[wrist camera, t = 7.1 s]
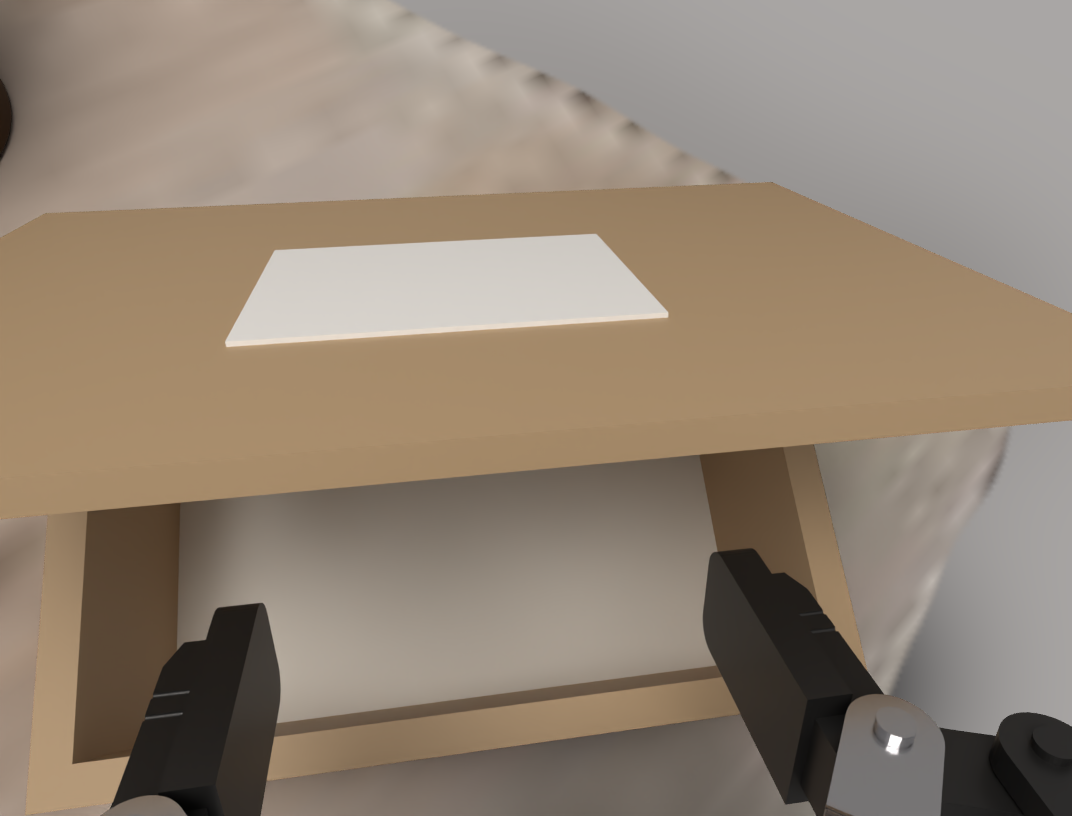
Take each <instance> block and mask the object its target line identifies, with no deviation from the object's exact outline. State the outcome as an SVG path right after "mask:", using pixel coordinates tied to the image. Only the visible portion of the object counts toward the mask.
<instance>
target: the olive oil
mask: <svg viewBox="0 0 1072 816" xmlns="http://www.w3.org/2000/svg"><path fill="white" fill-rule="evenodd" d="M10 127H11V106H10V101H9V97H8V94H7V92H6V89H5V87H4V85H3V83H2V81H1V79H0V155H1V153H2V151H3V149H4V147H5V145H6V142H7V139H8V136H9V132H10Z"/></svg>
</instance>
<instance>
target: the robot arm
mask: <svg viewBox="0 0 1072 816" xmlns="http://www.w3.org/2000/svg"><path fill="white" fill-rule="evenodd" d="M703 630H704V636H705V640H706V643H707V646H708V649H709V651H710V653H711V655H712V657H713V659H714V661H715V663H716V665H717V667H718V669H719V671H720V673H721V675H722V677H723V679H724V681H725V683H726V685H727V687H728V690H729V692H730V694H731V696H732V698H733V700H734V702H735V704H736V706H737V708H738V710H739V712H740V714H741V716H742V718H743V720H744V722H745V724H746V726H747V728H748V730H749V732H750V734H751V736H752V738H753V740H754V742H755V744H756V746H757V748H758V750H759V752H760V754H761V756H762V758H763V760H764V762H765V764H766V766H767V768H768V770H769V772H770V774H771V776H772V778H773V780H774V782H775V784H776V786H777V789H778V791H779V793H780V795H781V797H782V799H783V801H784V803H785V805H786V804H792V803H799V802H805V801H809V802H810V804H811V806H812V808H813V810H814V812H815V814H816V815H817V816H1072V727H1071V726H1069V725H1068V724H1066V723H1064V722H1062V721H1060V720H1057V719H1055V718H1052V717H1049V716H1046V715H1041V714H1037V713H1029V712H1027V713H1016V714H1013V715H1010V716H1008V717H1006V718H1005V719H1004V720H1003V721H1002V722H1001V724H1000V726H999V729H998V732H997V734H996V736H993V735H985V734H978V733H971V732H964V731H956V730H950V729H944V728H939V727H938V726H937V724H936V723H935V722H934V721H933V720H932V719H931V717H930V716H929V715H927V714H926V713H925V712H924V711H922V710H921V709H920V708H918V707H917V706H915V705H913V704H911V703H909V702H908V701H905V700H903V699H900V698H897V697H894V696H890V695H884V693H883V692H882V691H881V689H880V688H879V687H878V685H877V684H876V683H875V681H874V680H873V678H872V677H871V676H870V674H869V673H868V672H867V670H866V669H865V667H864V666H863V665H862V663H861V662H860V660H859V659H858V658H857V656H856V655H855V654H854V652H853V651H852V649H851V648H850V647H849V645H848V644H847V642H846V641H845V640H844V638H843V637H842V636H841V634H840V633H839V631H836V630H835V626H834V624H833V623H832V622H831V620H830V619H829V618H828V616H827V615H826V614H824V613H823V609H822V608H821V607H820V605H819V604H818V602H817V601H816V600H815V598H814V597H813V595H812V594H811V593H810V591H809V590H808V589H807V588H806V587H804V586H803V585H801V584H800V583H799V582H797V581H796V580H794V579H793V578H792V577H790V576H789V575H787V574H786V573H785V572H783V573H774V574H772V573H771V572H770V570H769V569H768V567H767V566H766V564H765V563H764V561H763V560H762V558H761V557H760V555H759V554H758V553H757V551H756V550H754V549H753V548H747V549H737V550H728V551H719V552H713V553H712V554H711V556H710V559H709V565H708V574H707V582H706V591H705V600H704V608H703ZM280 695H281V683H280V671H279V665H278V661H277V656H276V651H275V647H274V642H273V637H272V633H271V628H270V623H269V619H268V614H267V610H266V607H265V605H264V604H263V603H254V604H245V605H236V606H227V607H219V608H217V609H216V610H215V612H214V615H213V618H212V621H211V624H210V627H209V631H208V634H207V637H206V640H200V641H192V642H184V643H183V644H182V646H181V647H180V648H179V649H178V650H177V651H176V652H175V653H174V655H173V656H172V657H171V658H170V659H169V660H168V661H167V663H166V664H165V665H164V666H163V667H162V670H161V673H160V675H159V678H158V681H157V684H156V686H155V689H154V692H153V699H151V700H150V703H149V705H148V708H147V711H146V714H145V721H143V722H142V724H141V727H140V730H139V733H138V735H137V738H136V741H135V744H134V746H133V749H132V752H131V754H130V757H129V760H128V763H127V765H126V768H125V771H124V773H123V776H122V779H121V782H120V784H119V787H118V790H117V793H116V795H115V798H114V801H113V803H112V805H111V808H110V809H109V810H108V811H106V812H105V813H104V814H102V815H101V816H260V815H261V809H262V804H263V798H264V792H265V786H266V781H267V775H268V769H269V764H270V758H271V752H272V746H273V741H274V735H275V729H276V724H277V718H278V712H279V706H280Z"/></svg>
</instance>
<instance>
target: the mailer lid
mask: <svg viewBox="0 0 1072 816" xmlns="http://www.w3.org/2000/svg"><path fill="white" fill-rule="evenodd" d="M1069 420H1072V313H1070V312H1067V311H1065V310H1063V309H1060V308H1058V307H1056V306H1054V305H1052V304H1049V303H1047V302H1045V301H1042V300H1040V299H1038V298H1035V297H1033V296H1031V295H1029V294H1026V293H1024V292H1022V291H1020V290H1017V289H1015V288H1013V287H1010V286H1008V285H1006V284H1004V283H1001V282H999V281H996V280H994V279H992V278H990V277H988V276H985V275H983V274H981V273H978V272H976V271H974V270H972V269H969V268H967V267H965V266H962V265H960V264H958V263H956V262H953V261H951V260H949V259H946V258H944V257H942V256H940V255H937V254H935V253H933V252H930V251H928V250H926V249H924V248H921V247H919V246H917V245H914V244H912V243H910V242H907V241H905V240H903V239H900V238H898V237H896V236H894V235H892V234H889V233H887V232H885V231H882V230H880V229H878V228H876V227H873V226H871V225H869V224H866V223H864V222H862V221H860V220H857V219H855V218H853V217H850V216H848V215H846V214H844V213H841V212H839V211H837V210H834V209H832V208H830V207H828V206H825V205H823V204H820V203H818V202H816V201H814V200H812V199H809V198H807V197H805V196H802V195H800V194H798V193H796V192H793V191H791V190H789V189H786V188H784V187H781V186H779V185H777V184H775V183H773V182H765V183H742V184H718V185H695V186H672V187H648V188H625V189H602V190H579V191H555V192H532V193H509V194H486V195H462V196H439V197H416V198H393V199H369V200H346V201H323V202H299V203H276V204H253V205H230V206H206V207H183V208H160V209H137V210H113V211H90V212H67V213H45V214H43V215H42V216H40V217H38V218H36V219H34V220H32V221H31V222H29V223H27V224H25V225H23V226H21V227H20V228H18V229H16V230H14V231H12V232H10V233H9V234H7V235H5V236H3V237H1V238H0V519H8V518H19V517H30V516H41V515H52V514H62V513H73V512H84V511H95V510H106V509H117V508H127V507H138V506H149V505H160V504H171V503H182V502H192V501H203V500H214V499H225V498H236V497H246V496H257V495H268V494H279V493H290V492H301V491H311V490H322V489H333V488H344V487H355V486H366V485H376V484H387V483H398V482H409V481H420V480H430V479H441V478H452V477H463V476H474V475H485V474H495V473H506V472H517V471H528V470H539V469H550V468H560V467H571V466H582V465H593V464H604V463H614V462H625V461H636V460H647V459H658V458H669V457H679V456H690V455H701V454H712V453H723V452H734V451H744V450H755V449H766V448H777V447H788V446H798V445H809V444H820V443H831V442H842V441H853V440H863V439H874V438H885V437H896V436H907V435H918V434H928V433H939V432H950V431H961V430H972V429H982V428H993V427H1004V426H1015V425H1026V424H1037V423H1047V422H1058V421H1069Z"/></svg>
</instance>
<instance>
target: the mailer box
mask: <svg viewBox="0 0 1072 816" xmlns="http://www.w3.org/2000/svg"><path fill="white" fill-rule="evenodd" d="M747 548H753V549H754V550H756V551H757V553H758V554H759V555H760V557H761V558H762V560H763V561H764V563H765V564H766V566H767V567H768V569H769V570H770V572H771V573H772V574H774V573H783V572H785V573H786V574H787V575H789V576H790V577H792V578H793V579H794V580H796V581H797V582H799V583H800V584H801V585H803V586H804V587H806V588H807V589H808V590H809V591H810V593H811V594H812V595H813V597H814V598H815V600H816V601H817V602H818V604H819V605H820V607H821V608H822V609H823V613H824V614H826V615H827V616H828V618H829V619H830V620H831V622H832V623H833V624H834V626H835V630H836V631H839V633H840V634H841V636H842V637H843V638H844V640H845V641H846V642H847V644H848V645H849V647H850V648H851V649H852V651H853V652H854V654H855V655H856V656H857V658H858V659H859V660H860V662H861V663H862V665H863V666H864V667H865V669H866V670H867V667H866V663H865V659H864V655H863V651H862V646H861V642H860V638H859V634H858V629H857V625H856V621H855V617H854V613H853V608H852V604H851V600H850V596H849V591H848V587H847V583H846V579H845V575H844V570H843V566H842V562H841V558H840V553H839V549H838V545H837V541H836V537H835V532H834V528H833V524H832V520H831V516H830V511H829V507H828V503H827V499H826V494H825V490H824V486H823V482H822V478H821V473H820V469H819V465H818V461H817V456H816V452H815V448H814V444H809V445H798V446H788V447H777V448H766V449H755V450H744V451H734V452H723V453H712V454H701V455H690V456H679V457H669V458H658V459H647V460H636V461H625V462H614V463H604V464H593V465H582V466H571V467H560V468H550V469H539V470H528V471H517V472H506V473H495V474H485V475H474V476H463V477H452V478H441V479H430V480H420V481H409V482H398V483H387V484H376V485H366V486H355V487H344V488H333V489H322V490H311V491H301V492H290V493H279V494H268V495H257V496H246V497H236V498H225V499H214V500H203V501H192V502H182V503H171V504H160V505H149V506H138V507H127V508H117V509H106V510H95V511H84V512H73V513H62V514H52V515H48V518H47V531H46V545H45V558H44V571H43V585H42V598H41V611H40V625H39V638H38V651H37V664H36V678H35V691H34V704H33V718H32V731H31V744H30V757H29V771H28V784H27V797H26V811H25V815H30V814H37V813H44V812H51V811H58V810H65V809H72V808H79V807H86V806H94V805H101V804H108V803H113V801H114V798H115V795H116V793H117V790H118V787H119V784H120V782H121V779H122V776H123V773H124V771H125V768H126V765H127V763H128V760H129V757H130V754H131V752H132V749H133V746H134V744H135V741H136V738H137V735H138V733H139V730H140V727H141V724H142V722H143V721H145V714H146V711H147V708H148V705H149V703H150V700H151V699H153V692H154V689H155V686H156V684H157V681H158V678H159V675H160V673H161V670H162V667H163V666H164V665H165V664H166V663H167V661H168V660H169V659H170V658H171V657H172V656H173V655H174V653H175V652H176V651H177V650H178V649H179V648H180V647H181V646H182V644H183V643H184V642H192V641H200V640H206V637H207V634H208V631H209V627H210V624H211V621H212V618H213V615H214V612H215V610H216V609H217V608H219V607H227V606H236V605H245V604H254V603H263V604H264V605H265V607H266V610H267V614H268V619H269V623H270V628H271V633H272V637H273V642H274V647H275V651H276V656H277V661H278V665H279V671H280V683H281V695H280V706H279V712H278V718H277V724H276V729H275V735H274V741H273V746H272V752H271V758H270V764H269V769H268V775H267V781H271V780H278V779H285V778H292V777H299V776H306V775H313V774H320V773H327V772H335V771H342V770H349V769H356V768H363V767H370V766H377V765H384V764H391V763H398V762H405V761H412V760H420V759H427V758H434V757H441V756H448V755H455V754H462V753H469V752H476V751H483V750H490V749H498V748H505V747H512V746H519V745H526V744H533V743H540V742H547V741H554V740H561V739H568V738H576V737H583V736H590V735H597V734H604V733H611V732H618V731H625V730H632V729H639V728H646V727H653V726H661V725H668V724H675V723H682V722H689V721H696V720H703V719H710V718H717V717H724V716H731V715H739V714H740V712H739V710H738V708H737V706H736V704H735V702H734V700H733V698H732V696H731V694H730V692H729V690H728V687H727V685H726V683H725V681H724V679H723V677H722V675H721V673H720V671H719V669H718V667H717V665H716V663H715V661H714V659H713V657H712V655H711V653H710V651H709V649H708V646H707V643H706V640H705V636H704V630H703V608H704V600H705V591H706V582H707V574H708V565H709V559H710V556H711V554H712V553H713V552H719V551H728V550H737V549H747Z"/></svg>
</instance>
